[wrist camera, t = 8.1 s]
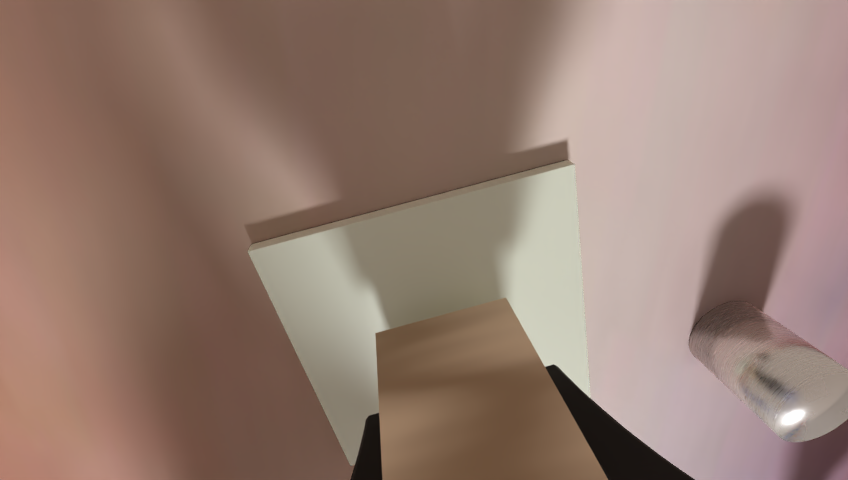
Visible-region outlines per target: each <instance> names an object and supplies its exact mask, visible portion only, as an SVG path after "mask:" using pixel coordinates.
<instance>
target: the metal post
mask: <svg viewBox="0 0 848 480" xmlns="http://www.w3.org/2000/svg"><path fill="white" fill-rule="evenodd" d="M689 349H690V351H691V353H692V354H693V355H694V356H695V357H696V358H697V359H698V360H699V361H700V362H701V363H702V364H703V365H704V366H705V367H706V368H707V369H708V370H709V371H710V372H711V373H713V374H714V375H715V376H716V377H717V378H718V379H719V380H720V381H721V382H722V383H723V384H724V385H725V386H726V387H727V388H728V389H729V390H730V391H731V392H733V393H734V394H735V395H736V396H737V397H738V398H739V399H740V400H741V401H742V402H743V403H744V404H745V405H746V406H747V407H748V408H749V409H750V410H752V411H753V412H754V413H755V414H756V415H757V416H758V417H759V418H760V419H761V420H762V421H763V422H764V423H765V424H766V425H767V426H768V427H769V428H770V429H772V430H773V431H774V432H775V433H776V434H777V435H778V436H779V437H780V438H781V439H783V440H785V441H789V442H803V441H808V440H812V439H815V438H818V437H820V436H823V435H825V434H827V433H829V432H830V431H832V430H834V429H835V428H837V427H838V426H840V425H841V424H842V423H844V422H845V421H846V420H847V419H848V369H846V368H845V367H843V366H842V365H840V364H839V363H837V362H836V361H834V360H833V359H832V358H830V357H829V356H827V355H826V354H824V353H823V352H821V351H820V350H818V349H817V348H815V347H814V346H812V345H811V344H809V343H808V342H806V341H805V340H803V339H802V338H801V337H799V336H798V335H796V334H795V333H793V332H792V331H790V330H789V329H787V328H786V327H784V326H783V325H781V324H780V323H778V322H777V321H775V320H774V319H772V318H771V317H769V316H768V315H767V314H765V313H764V312H762V311H761V310H759V309H758V308H756V307H755V306H753V305H752V304H750V303H747V302H743V301H734V302H729V303H725V304H722V305H720V306H718V307H716V308H714V309H712V310H711V311H709V312H708V313H707V314H706V315H704V316H703V317H702V318H701V319H700V320H699V321H698V323H697V324H696V325H695V327H694V328H693V330H692V332H691V335H690V338H689Z"/></svg>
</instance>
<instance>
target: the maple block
mask: <svg viewBox="0 0 848 480" xmlns="http://www.w3.org/2000/svg"><path fill="white" fill-rule="evenodd" d="M375 335H376V356H377V377H378V398H379V419H380V440H381V461H382V480H608V478H607V477H606V475H605V473H604V471H603V469H602V468H601V466H600V464H599V462H598V461H597V459H596V457H595V455H594V453H593V452H592V450H591V448H590V446H589V445H588V443H587V441H586V439H585V437H584V436H583V434H582V432H581V430H580V428H579V427H578V425H577V423H576V421H575V420H574V418H573V416H572V414H571V412H570V411H569V409H568V407H567V405H566V404H565V402H564V400H563V398H562V396H561V395H560V393H559V391H558V389H557V388H556V386H555V384H554V382H553V380H552V379H551V377H550V375H549V373H548V371H547V370H546V368H545V366H544V364H543V363H542V361H541V359H540V357H539V355H538V354H537V352H536V350H535V348H534V347H533V345H532V343H531V341H530V339H529V338H528V336H527V334H526V332H525V330H524V329H523V327H522V325H521V323H520V322H519V320H518V318H517V316H516V314H515V313H514V311H513V309H512V307H511V306H510V304H509V302H508V300H507V298H502V299H499V300H495V301H491V302H488V303H484V304H480V305H477V306H473V307H469V308H466V309H462V310H458V311H455V312H451V313H447V314H444V315H440V316H436V317H433V318H429V319H425V320H422V321H418V322H414V323H411V324H407V325H403V326H400V327H396V328H392V329H389V330H385V331H381V332H378V333H375Z"/></svg>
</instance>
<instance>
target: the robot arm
mask: <svg viewBox="0 0 848 480" xmlns="http://www.w3.org/2000/svg"><path fill="white" fill-rule="evenodd" d="M545 368H546V370H547V371H548V373H549V375H550V377H551V379H552V380H553V382H554V384H555V386H556V388H557V389H558V391H559V393H560V395H561V396H562V398H563V400H564V402H565V404H566V405H567V407H568V409H569V411H570V412H571V414H572V416H573V418H574V420H575V421H576V423H577V425H578V427H579V428H580V430H581V432H582V434H583V436H584V437H585V439H586V441H587V443H588V445H589V446H590V448H591V450H592V452H593V453H594V455H595V457H596V459H597V461H598V462H599V464H600V466H601V468H602V469H603V471H604V473H605V475H606V477H607V478H608V480H695V479H693V478H692V477H690V476H689V475H687V474H686V473H684V472H683V471H681V470H680V469H679V468H677V467H676V466H674V465H673V464H671V463H670V462H669V461H667V460H666V459H664V458H663V457H662V456H660V455H659V454H658V453H656V452H655V451H654V450H652V449H651V448H650V447H648V446H647V445H646V444H644V443H643V442H642V441H641V440H639V439H638V438H637V437H635V436H634V435H633V434H632V433H630V432H629V431H628V430H627V429H625V428H624V427H623V426H622V425H621V424H619V423H618V422H617V421H616V420H615V419H614V418H612V417H611V416H610V415H609V414H608V413H606V412H605V411H604V410H603V409H602V408H601V407H599V406H598V405H597V404H596V403H595V402H594V401H593V400H592V399H591V398H589V397H588V396H587V395H586V394H585V393H584V392H583V391H582V390H581V389H580V388H579V387H578V386H577V385H576V384H575V383H574V382H573V381H572V380H571V379H570V378H569V377H568V376H567V375H566V374H565V373H564V372H563V371H562V370H561V369H560V368H559V367H558V366H556V365H554V364H553V365H550V366H546V367H545ZM351 480H382V461H381V440H380V419H379V413H376V414H373V415H369V416H368V417H367V419H366V422H365V427H364V431H363V436H362V440H361V444H360V448H359V452H358V456H357V459H356V463H355V467H354V470H353V473H352V476H351Z"/></svg>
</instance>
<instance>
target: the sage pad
mask: <svg viewBox="0 0 848 480" xmlns="http://www.w3.org/2000/svg"><path fill="white" fill-rule="evenodd" d="M248 254H249V256H250V258H251V260H252V262H253V264H254V266H255V268H256V270H257V272H258V274H259V277H260V279H261V281H262V283H263V285H264V287H265V289H266V291H267V293H268V295H269V297H270V299H271V302H272V304H273V306H274V308H275V310H276V312H277V314H278V316H279V318H280V320H281V322H282V324H283V327H284V329H285V331H286V333H287V335H288V337H289V339H290V341H291V343H292V345H293V347H294V349H295V352H296V354H297V356H298V358H299V360H300V362H301V364H302V366H303V368H304V370H305V372H306V374H307V377H308V379H309V381H310V383H311V385H312V387H313V389H314V391H315V393H316V395H317V397H318V399H319V401H320V404H321V406H322V408H323V410H324V412H325V414H326V416H327V418H328V420H329V422H330V424H331V426H332V429H333V431H334V433H335V435H336V437H337V439H338V441H339V443H340V445H341V447H342V449H343V451H344V454H345V456H346V458H347V460H348V462H349V464H350V466H352V465H355V463H356V459H357V456H358V452H359V448H360V444H361V440H362V436H363V431H364V427H365V422H366V419H367V417H368V416H369V415H373V414H376V413H379V398H378V377H377V356H376V335H375V333H378V332H381V331H385V330H389V329H392V328H396V327H400V326H403V325H407V324H411V323H414V322H418V321H422V320H425V319H429V318H433V317H436V316H440V315H444V314H447V313H451V312H455V311H458V310H462V309H466V308H469V307H473V306H477V305H480V304H484V303H488V302H491V301H495V300H499V299H502V298H507V300H508V302H509V304H510V306H511V307H512V309H513V311H514V313H515V314H516V316H517V318H518V320H519V322H520V323H521V325H522V327H523V329H524V330H525V332H526V334H527V336H528V338H529V339H530V341H531V343H532V345H533V347H534V348H535V350H536V352H537V354H538V355H539V357H540V359H541V361H542V363H543V364H544V366H545V367H546V366H550V365H553V364H554V365H556V366H558V367H559V368H560V369H561V370H562V371H563V372H564V373H565V374H566V375H567V376H568V377H569V378H570V379H571V380H572V381H573V382H574V383H575V384H576V385H577V386H578V387H579V388H580V389H581V390H582V391H583V392H584V393H585V394H586V395H587V396H588V397H589V398H591V397H590V382H589V367H588V353H587V338H586V323H585V308H584V294H583V279H582V264H581V249H580V235H579V220H578V205H577V190H576V176H575V164H573V163H572V162H570V161H568V160H565V161H562V162H558V163H554V164H550V165H547V166H543V167H539V168H535V169H532V170H528V171H524V172H520V173H517V174H513V175H509V176H505V177H502V178H498V179H494V180H490V181H487V182H483V183H479V184H475V185H472V186H468V187H464V188H460V189H457V190H453V191H449V192H445V193H442V194H438V195H434V196H430V197H427V198H423V199H419V200H415V201H412V202H408V203H404V204H400V205H397V206H393V207H389V208H385V209H382V210H378V211H374V212H370V213H367V214H363V215H359V216H355V217H352V218H348V219H344V220H340V221H337V222H333V223H329V224H325V225H322V226H318V227H314V228H310V229H307V230H303V231H299V232H295V233H292V234H288V235H284V236H280V237H277V238H273V239H269V240H265V241H262V242H258V243H254V244H251V246H250V248H249V250H248Z"/></svg>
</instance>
